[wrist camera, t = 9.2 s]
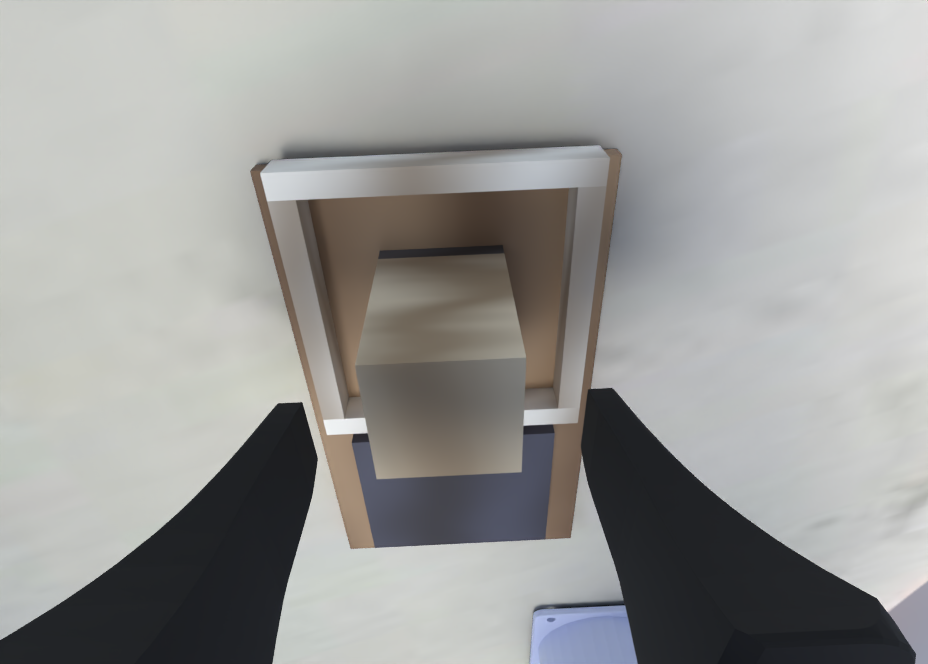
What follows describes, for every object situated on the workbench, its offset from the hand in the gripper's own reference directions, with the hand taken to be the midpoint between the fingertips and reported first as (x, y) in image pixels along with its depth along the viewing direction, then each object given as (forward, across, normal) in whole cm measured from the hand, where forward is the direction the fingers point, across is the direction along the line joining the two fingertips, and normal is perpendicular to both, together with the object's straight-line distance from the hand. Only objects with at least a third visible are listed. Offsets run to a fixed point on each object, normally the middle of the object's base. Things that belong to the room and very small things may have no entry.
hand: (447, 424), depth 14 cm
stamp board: (+7, 0, +5) cm, 8 cm away
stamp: (+6, 0, 0) cm, 6 cm away
